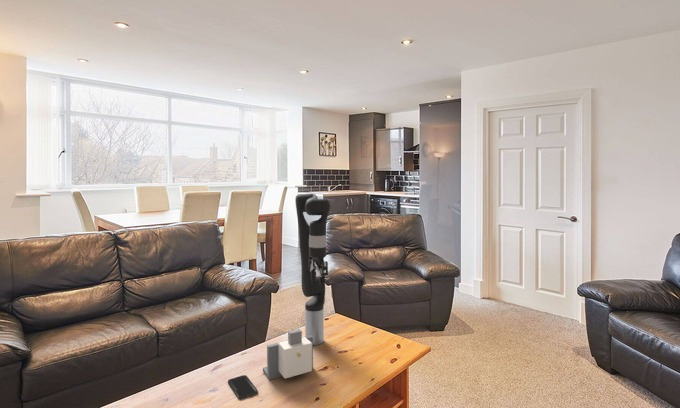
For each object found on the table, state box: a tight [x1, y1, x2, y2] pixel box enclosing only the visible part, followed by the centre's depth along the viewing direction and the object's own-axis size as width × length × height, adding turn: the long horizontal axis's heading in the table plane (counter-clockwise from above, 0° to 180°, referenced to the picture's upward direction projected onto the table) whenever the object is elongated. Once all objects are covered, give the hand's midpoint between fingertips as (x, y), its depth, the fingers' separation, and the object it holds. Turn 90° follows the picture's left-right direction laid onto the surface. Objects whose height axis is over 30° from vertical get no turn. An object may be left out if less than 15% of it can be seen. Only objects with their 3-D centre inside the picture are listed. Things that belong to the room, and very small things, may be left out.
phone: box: [227, 374, 259, 400], centre depth 148 cm, size 8×1×15 cm
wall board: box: [262, 335, 314, 381], centre depth 159 cm, size 12×20×14 cm, turn 120°
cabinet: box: [277, 328, 313, 379], centre depth 154 cm, size 8×12×17 cm, turn 120°
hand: (317, 282), depth 161 cm, fingers open, 8 cm apart
